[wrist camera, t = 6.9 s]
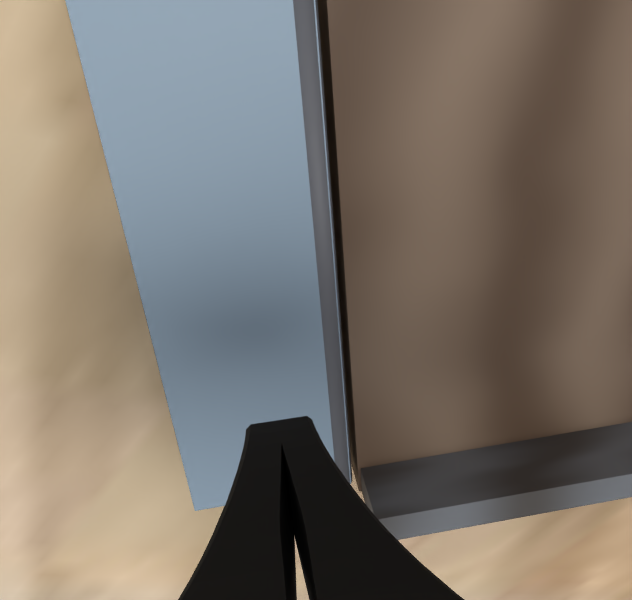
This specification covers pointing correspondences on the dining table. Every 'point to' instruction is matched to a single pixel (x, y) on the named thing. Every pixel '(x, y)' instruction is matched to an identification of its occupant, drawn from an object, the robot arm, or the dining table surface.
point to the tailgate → (224, 214)
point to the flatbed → (482, 253)
